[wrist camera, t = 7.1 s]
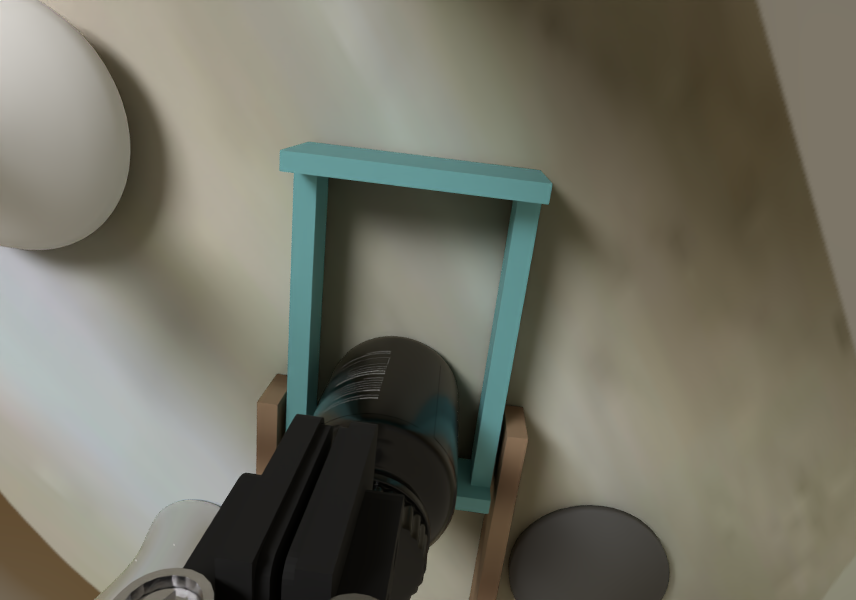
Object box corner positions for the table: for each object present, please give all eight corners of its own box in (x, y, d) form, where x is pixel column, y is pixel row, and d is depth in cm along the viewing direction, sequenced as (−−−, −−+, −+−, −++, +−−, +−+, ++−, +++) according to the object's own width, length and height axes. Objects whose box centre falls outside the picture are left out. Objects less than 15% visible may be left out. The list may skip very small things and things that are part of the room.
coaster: (522, 495, 32) (523, 502, 32) (684, 517, 32) (687, 525, 32) (498, 615, 35) (498, 623, 35) (645, 636, 35) (647, 645, 35)
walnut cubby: (276, 373, 31) (257, 402, 28) (522, 407, 30) (528, 439, 28) (270, 623, 37) (253, 667, 34) (475, 654, 37) (475, 701, 34)
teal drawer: (308, 141, 26) (280, 150, 22) (540, 170, 26) (552, 184, 22) (296, 447, 32) (271, 497, 28) (486, 474, 32) (488, 528, 28)
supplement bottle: (326, 434, 32) (246, 619, 21) (339, 321, 30) (258, 461, 18) (448, 456, 32) (435, 654, 21) (471, 344, 30) (471, 499, 18)
